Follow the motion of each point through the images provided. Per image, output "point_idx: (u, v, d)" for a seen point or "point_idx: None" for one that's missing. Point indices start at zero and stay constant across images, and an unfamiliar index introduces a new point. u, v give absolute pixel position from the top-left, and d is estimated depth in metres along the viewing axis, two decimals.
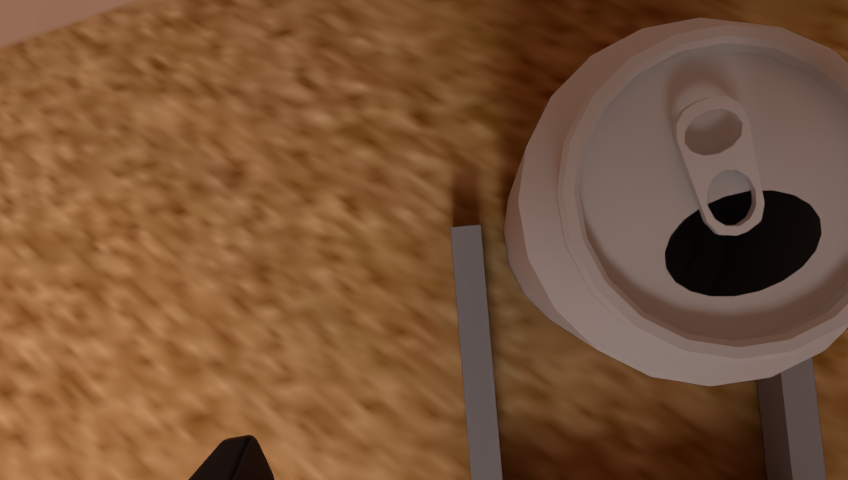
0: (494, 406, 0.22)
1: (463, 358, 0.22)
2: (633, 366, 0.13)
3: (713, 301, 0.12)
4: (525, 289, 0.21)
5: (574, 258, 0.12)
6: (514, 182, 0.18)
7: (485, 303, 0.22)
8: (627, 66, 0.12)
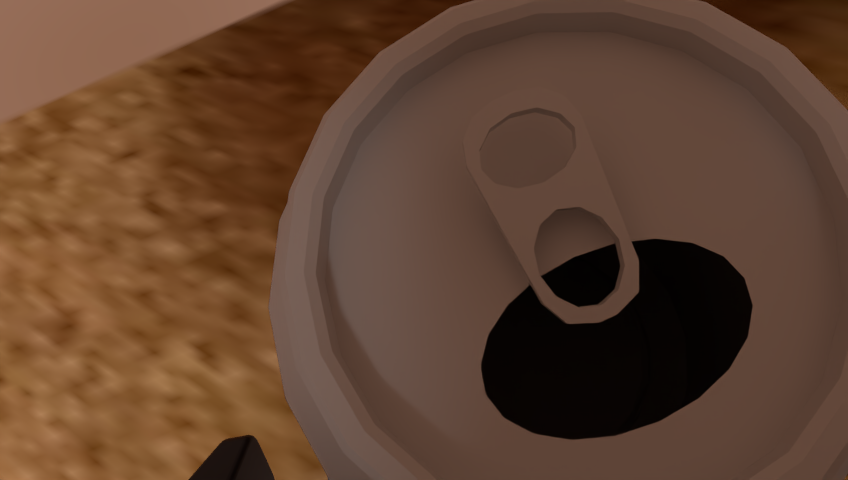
0: None
1: None
2: None
3: (576, 450, 0.07)
4: None
5: (309, 390, 0.07)
6: None
7: None
8: (383, 65, 0.08)
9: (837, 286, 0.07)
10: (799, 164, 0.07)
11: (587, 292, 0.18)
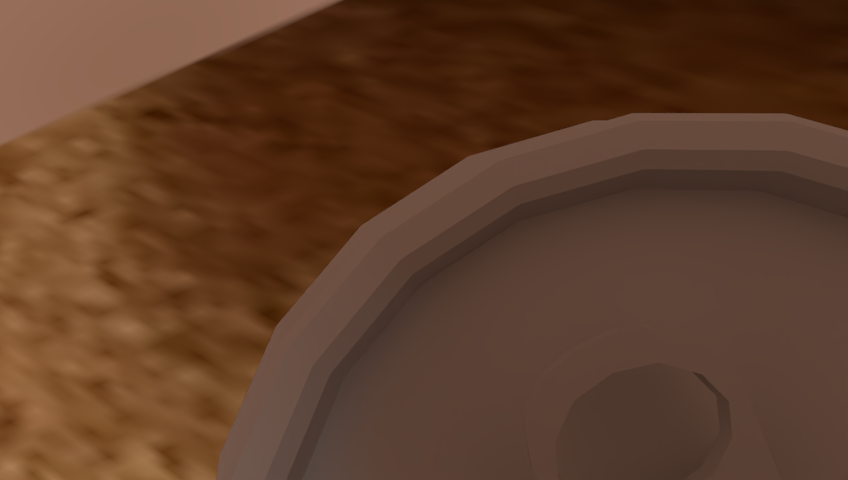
0: None
1: None
2: None
3: None
4: None
5: None
6: None
7: None
8: (380, 257, 0.04)
9: None
10: None
11: None
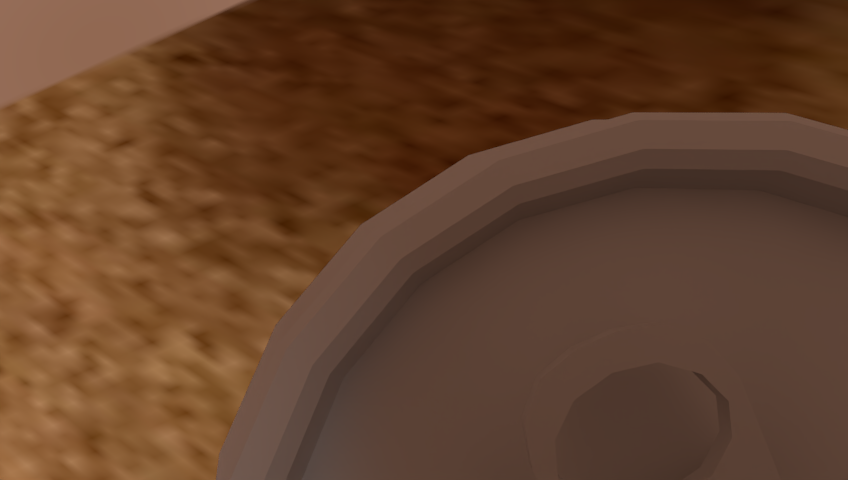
0: None
1: None
2: None
3: None
4: None
5: None
6: None
7: None
8: (379, 257, 0.04)
9: None
10: None
11: None
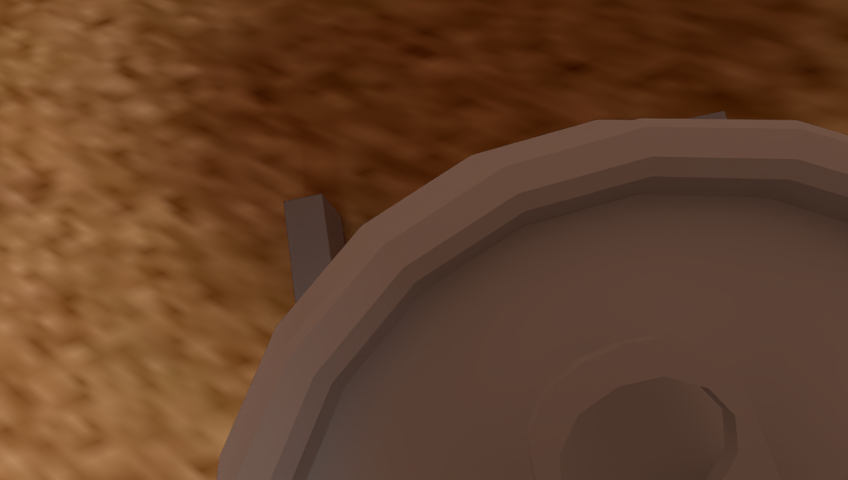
0: None
1: None
2: None
3: None
4: None
5: None
6: None
7: None
8: (382, 265, 0.04)
9: None
10: None
11: None
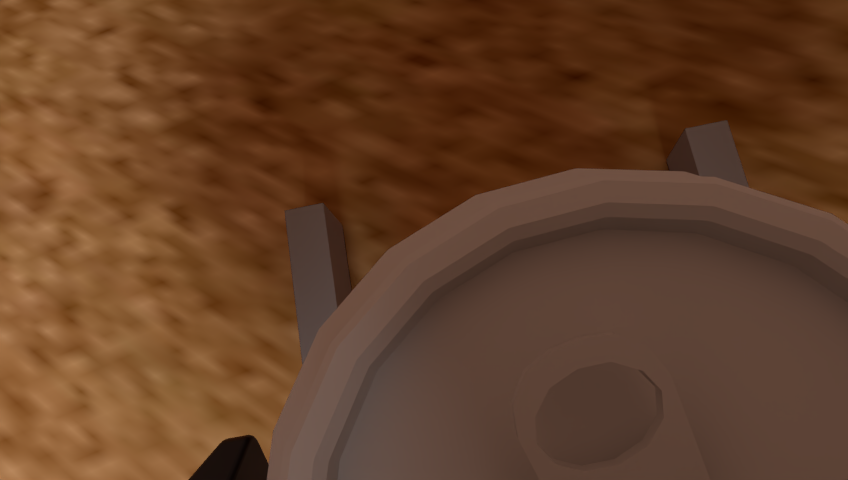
0: None
1: None
2: None
3: None
4: None
5: None
6: None
7: (334, 304, 0.16)
8: (407, 280, 0.06)
9: None
10: None
11: None
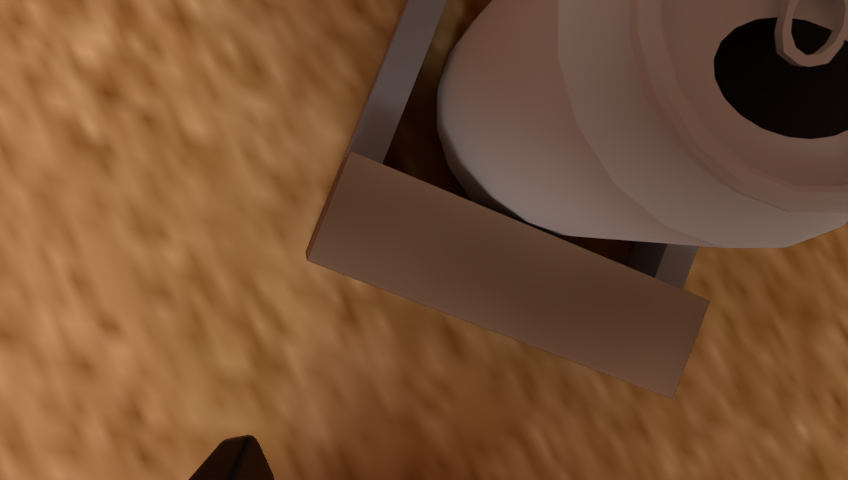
0: (443, 3, 0.19)
1: None
2: (606, 164, 0.11)
3: (738, 121, 0.10)
4: (455, 107, 0.18)
5: None
6: None
7: None
8: None
9: None
10: None
11: None
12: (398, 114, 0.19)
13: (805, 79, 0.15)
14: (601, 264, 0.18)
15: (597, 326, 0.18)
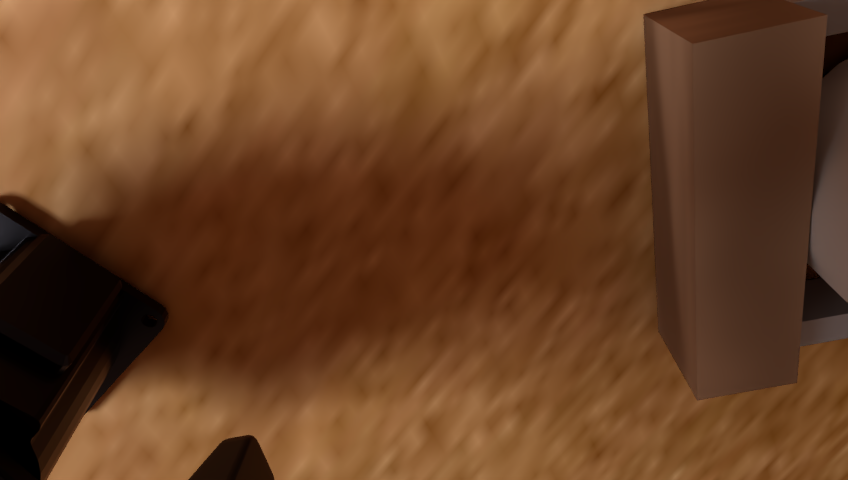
0: None
1: None
2: None
3: None
4: None
5: None
6: None
7: None
8: None
9: None
10: None
11: None
12: None
13: None
14: (797, 289, 0.19)
15: (736, 316, 0.19)
